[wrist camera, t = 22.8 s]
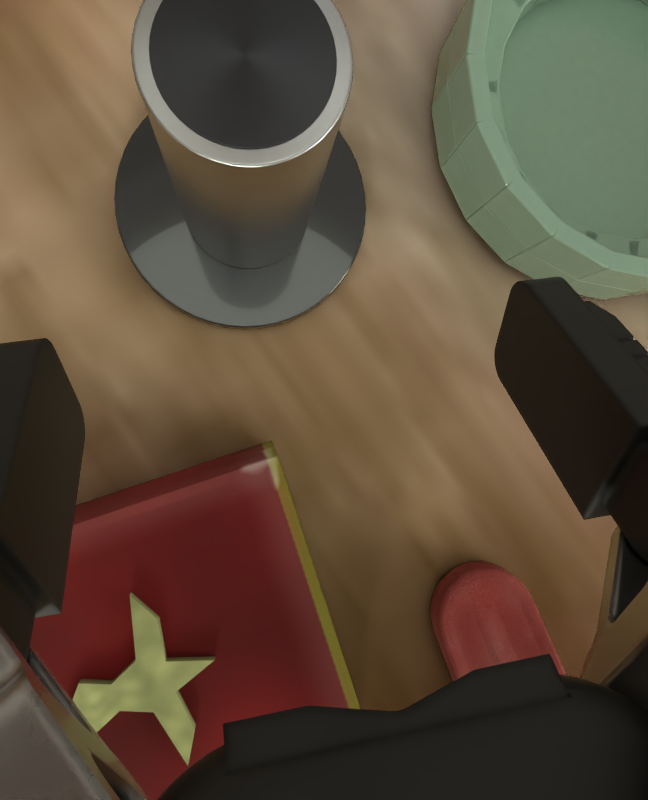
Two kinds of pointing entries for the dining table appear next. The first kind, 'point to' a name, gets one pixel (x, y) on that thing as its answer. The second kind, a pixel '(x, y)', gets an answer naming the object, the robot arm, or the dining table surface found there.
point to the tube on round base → (244, 114)
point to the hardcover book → (191, 614)
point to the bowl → (551, 136)
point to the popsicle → (486, 619)
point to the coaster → (223, 284)
